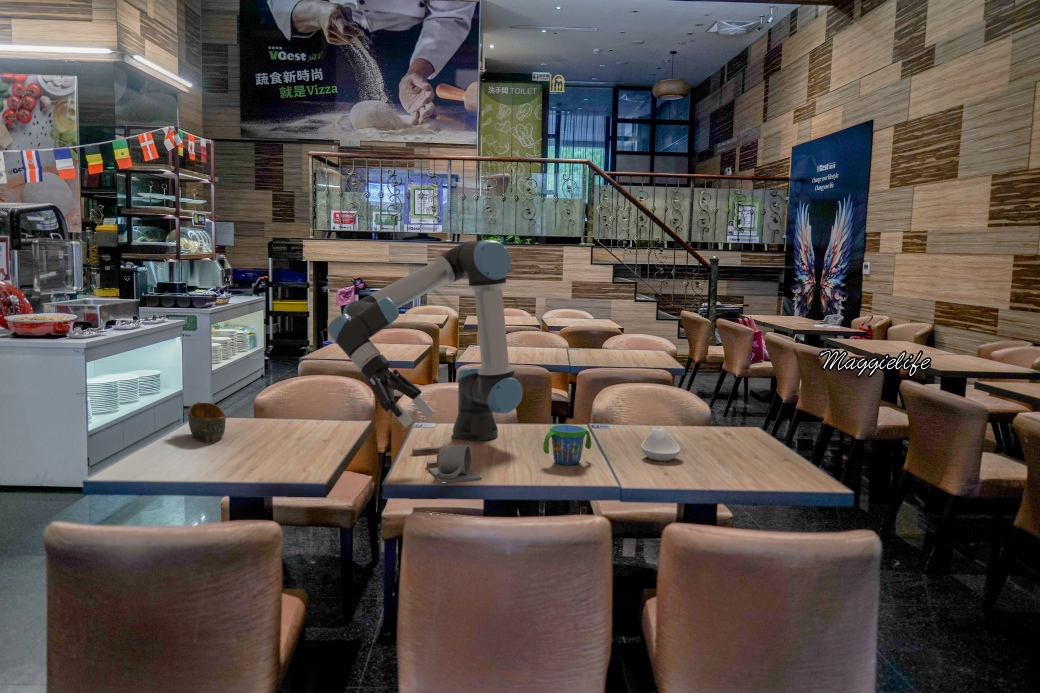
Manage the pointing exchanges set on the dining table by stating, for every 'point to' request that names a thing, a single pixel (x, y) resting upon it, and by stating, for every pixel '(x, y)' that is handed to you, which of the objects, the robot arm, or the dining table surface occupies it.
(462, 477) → the slate mat
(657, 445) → the spoon rest
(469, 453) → the ceramic mug
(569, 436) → the snack cup
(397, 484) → the dining table surface
